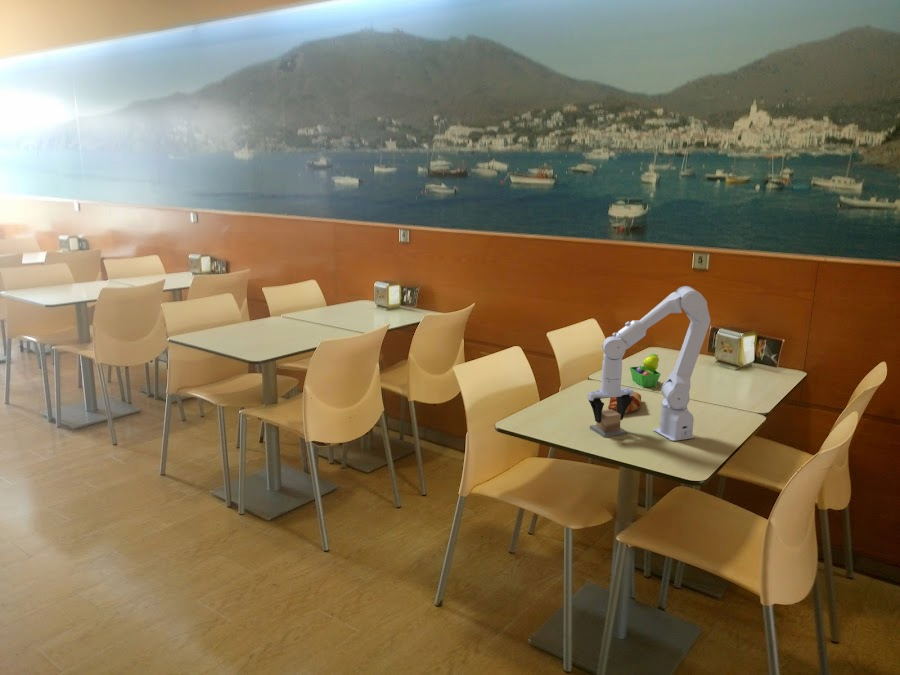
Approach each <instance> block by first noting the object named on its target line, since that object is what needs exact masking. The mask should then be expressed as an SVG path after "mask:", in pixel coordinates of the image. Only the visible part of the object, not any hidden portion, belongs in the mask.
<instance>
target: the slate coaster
mask: <svg viewBox="0 0 900 675" xmlns="http://www.w3.org/2000/svg"><path fill="white" fill-rule="evenodd" d="M596 425H597V424H592V425H590V426H589V429H590V430H592V431H594V432H595V433H596V434H598V435H600V436H601V437H602V438H610V437H615V436H622V435H623V436H624V435H627V434H628V431H627V430H625V429H623V428H622V427H620V430H618V431H611V432H604V431H603V430H601V429H599V428H598V427H596Z"/></svg>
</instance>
